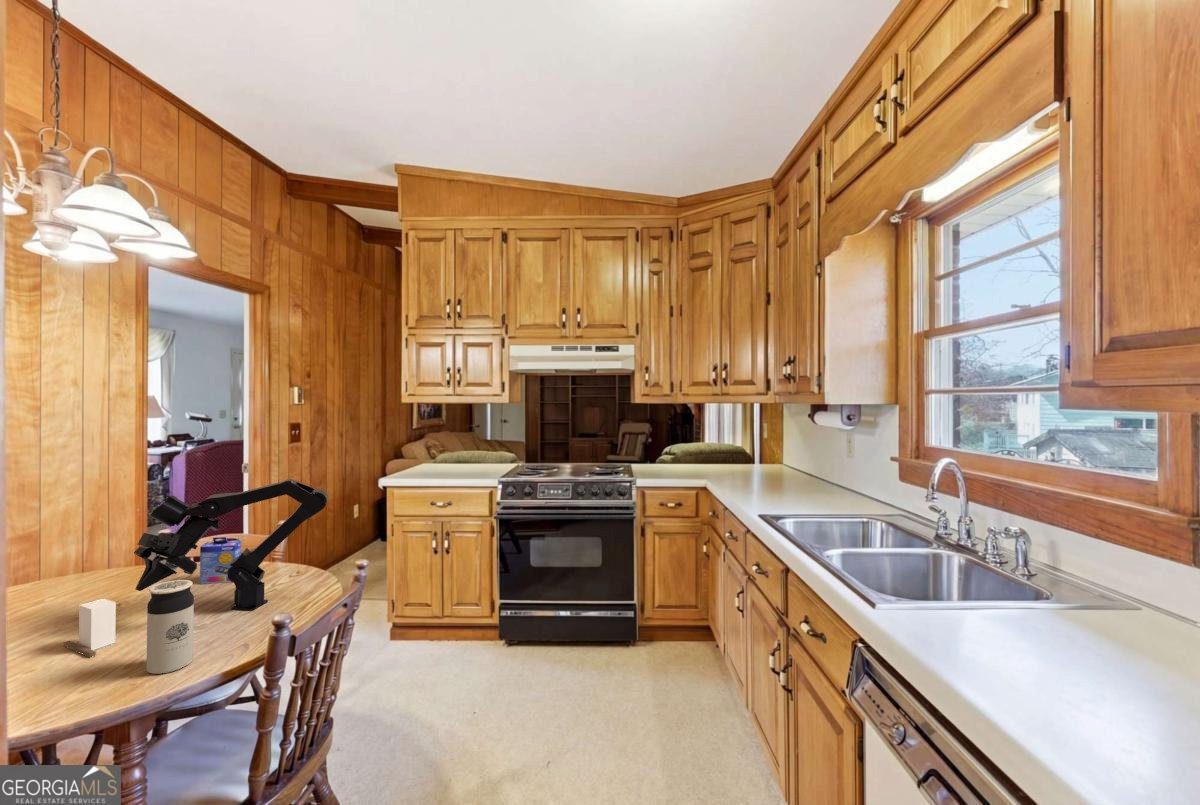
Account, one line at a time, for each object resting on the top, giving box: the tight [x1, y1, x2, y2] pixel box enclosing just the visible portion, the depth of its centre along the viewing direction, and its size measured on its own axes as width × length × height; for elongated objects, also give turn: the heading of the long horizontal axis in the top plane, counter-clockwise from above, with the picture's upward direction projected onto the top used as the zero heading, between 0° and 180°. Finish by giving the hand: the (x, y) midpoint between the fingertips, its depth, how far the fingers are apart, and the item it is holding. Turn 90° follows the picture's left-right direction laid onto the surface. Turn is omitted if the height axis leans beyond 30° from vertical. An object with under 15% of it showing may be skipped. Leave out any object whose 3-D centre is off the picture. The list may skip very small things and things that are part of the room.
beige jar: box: [145, 579, 195, 675], centre depth 115 cm, size 8×8×18 cm
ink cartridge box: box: [199, 536, 242, 585], centre depth 166 cm, size 10×6×14 cm, turn 107°
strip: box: [63, 640, 97, 658], centre depth 120 cm, size 1×12×1 cm, turn 67°
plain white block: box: [78, 597, 117, 651], centre depth 123 cm, size 4×6×10 cm
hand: (137, 590), depth 130 cm, fingers closed
